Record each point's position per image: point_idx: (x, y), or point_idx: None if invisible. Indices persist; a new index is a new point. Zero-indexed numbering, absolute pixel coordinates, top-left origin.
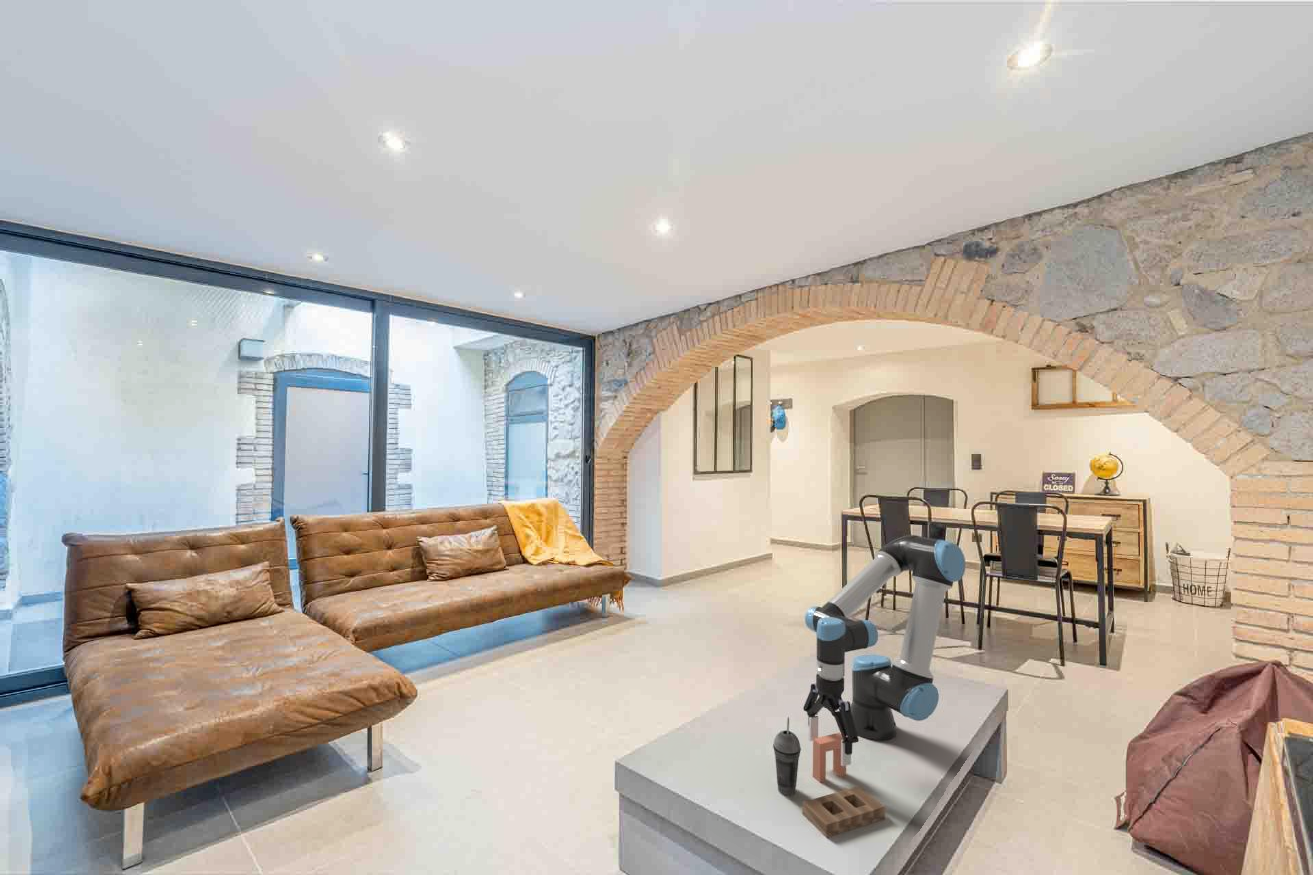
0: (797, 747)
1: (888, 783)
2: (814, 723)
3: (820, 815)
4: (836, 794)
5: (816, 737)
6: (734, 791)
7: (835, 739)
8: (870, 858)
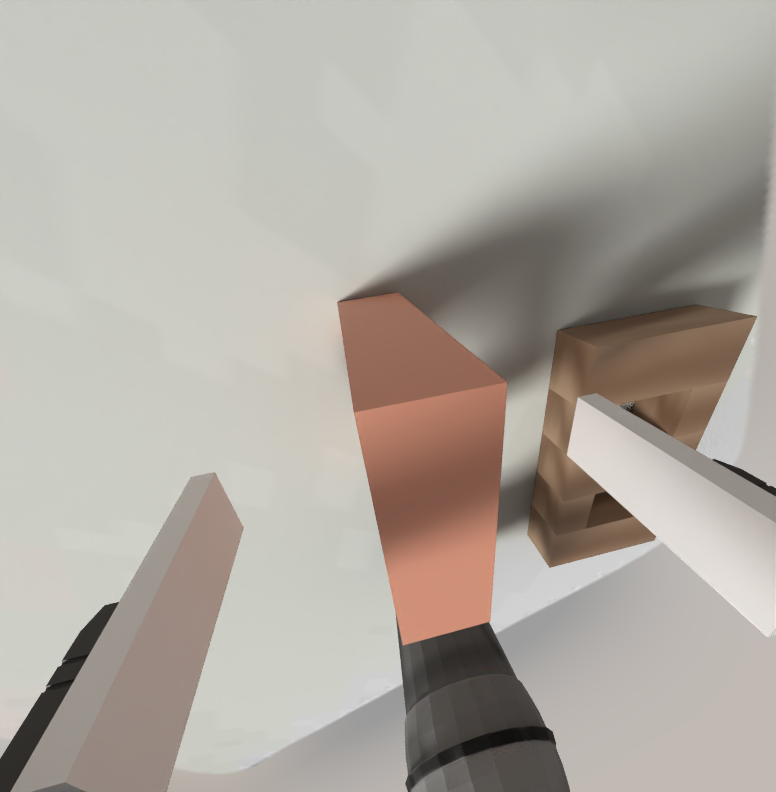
0: (564, 778)
1: (560, 40)
2: (165, 671)
3: (619, 542)
4: (581, 468)
5: (217, 498)
6: (381, 641)
7: (482, 507)
8: (735, 445)
